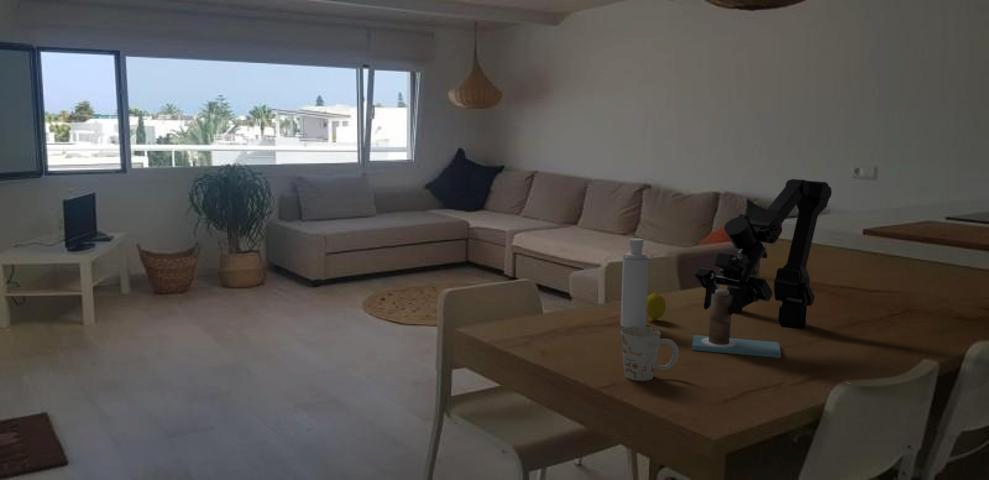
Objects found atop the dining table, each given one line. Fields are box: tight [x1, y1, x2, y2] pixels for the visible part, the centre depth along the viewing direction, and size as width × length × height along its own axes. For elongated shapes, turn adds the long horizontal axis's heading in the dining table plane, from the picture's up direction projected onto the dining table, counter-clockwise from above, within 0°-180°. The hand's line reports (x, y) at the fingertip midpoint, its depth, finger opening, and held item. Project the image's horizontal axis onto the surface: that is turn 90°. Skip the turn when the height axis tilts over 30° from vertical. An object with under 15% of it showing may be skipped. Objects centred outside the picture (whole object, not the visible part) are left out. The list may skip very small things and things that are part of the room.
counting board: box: [691, 334, 782, 359], centre depth 182 cm, size 20×9×1 cm, turn 73°
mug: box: [620, 326, 680, 382], centre depth 161 cm, size 8×13×10 cm, turn 95°
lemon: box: [646, 291, 666, 322], centre depth 206 cm, size 6×6×8 cm
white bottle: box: [620, 237, 650, 328], centre depth 200 cm, size 7×7×25 cm
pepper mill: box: [708, 288, 732, 345], centre depth 181 cm, size 5×5×13 cm
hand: (716, 311), depth 180 cm, fingers open, 6 cm apart
